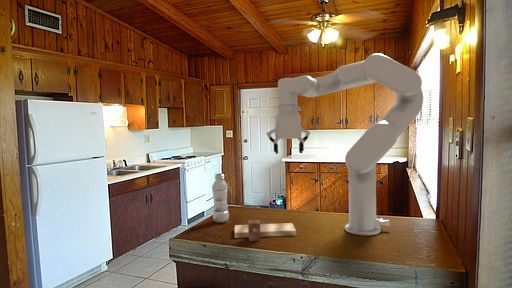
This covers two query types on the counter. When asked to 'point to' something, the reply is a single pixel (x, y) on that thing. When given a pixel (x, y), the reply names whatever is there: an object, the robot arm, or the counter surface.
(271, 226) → the board
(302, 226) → the counter surface
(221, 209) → the plastic bottle
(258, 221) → the brown handled block
